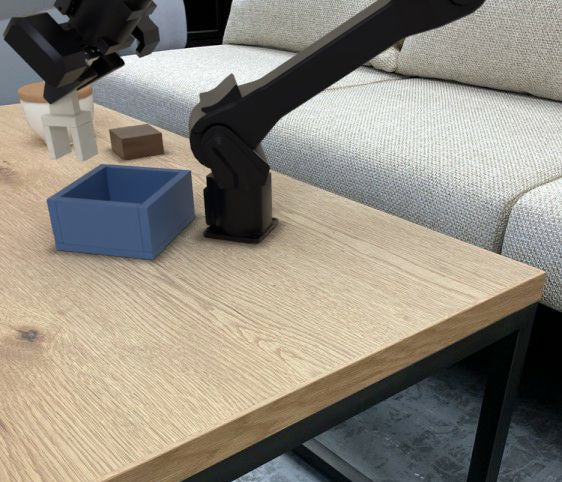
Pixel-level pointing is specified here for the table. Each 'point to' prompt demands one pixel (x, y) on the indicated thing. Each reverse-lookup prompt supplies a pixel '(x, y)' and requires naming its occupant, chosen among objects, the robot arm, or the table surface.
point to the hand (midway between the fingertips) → (51, 99)
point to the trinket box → (39, 106)
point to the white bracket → (81, 129)
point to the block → (136, 141)
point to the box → (122, 210)
